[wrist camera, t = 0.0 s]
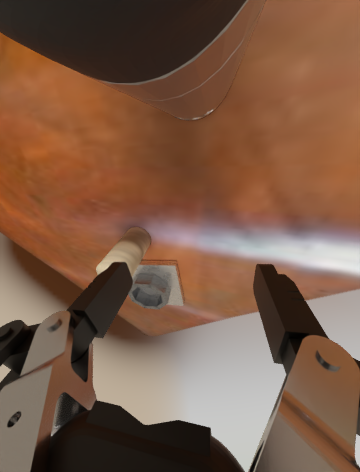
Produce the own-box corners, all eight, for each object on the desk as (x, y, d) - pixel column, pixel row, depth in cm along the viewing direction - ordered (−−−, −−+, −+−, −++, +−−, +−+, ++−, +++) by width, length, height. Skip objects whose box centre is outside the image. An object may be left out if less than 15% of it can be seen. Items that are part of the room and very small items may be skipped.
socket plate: (118, 259, 36) (107, 274, 32) (176, 260, 33) (172, 276, 29) (135, 297, 43) (128, 312, 40) (184, 300, 40) (181, 317, 37)
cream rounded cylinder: (122, 227, 30) (90, 262, 22) (147, 226, 29) (122, 262, 21) (131, 248, 33) (104, 286, 25) (153, 248, 32) (134, 287, 24)
